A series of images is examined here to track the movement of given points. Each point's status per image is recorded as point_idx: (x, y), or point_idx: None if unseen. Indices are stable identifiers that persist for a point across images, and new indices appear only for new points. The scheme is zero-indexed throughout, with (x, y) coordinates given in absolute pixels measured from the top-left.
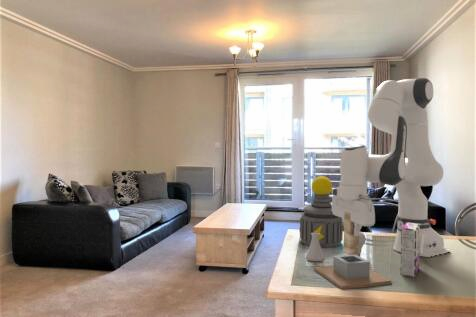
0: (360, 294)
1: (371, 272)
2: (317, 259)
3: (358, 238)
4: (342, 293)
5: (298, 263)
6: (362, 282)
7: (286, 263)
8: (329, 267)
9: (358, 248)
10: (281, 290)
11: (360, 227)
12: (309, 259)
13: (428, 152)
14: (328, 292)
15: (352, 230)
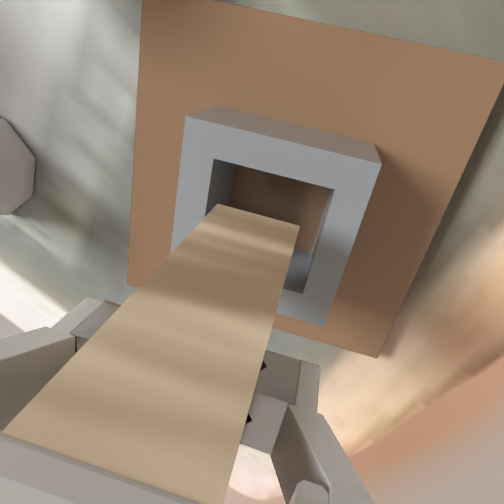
0: (468, 330)
1: (327, 61)
2: (24, 183)
3: (279, 297)
4: (408, 375)
5: (40, 275)
6: (407, 249)
7: (31, 315)
8: (155, 226)
9: (294, 245)
10: (265, 487)
11: (350, 486)
12: (10, 210)
13: None
14: (366, 404)
15: (241, 436)
